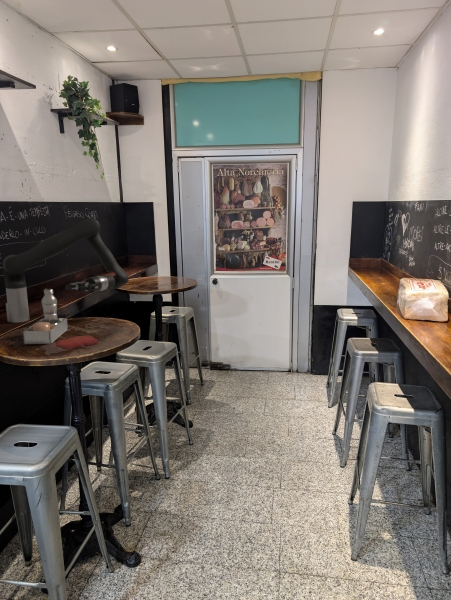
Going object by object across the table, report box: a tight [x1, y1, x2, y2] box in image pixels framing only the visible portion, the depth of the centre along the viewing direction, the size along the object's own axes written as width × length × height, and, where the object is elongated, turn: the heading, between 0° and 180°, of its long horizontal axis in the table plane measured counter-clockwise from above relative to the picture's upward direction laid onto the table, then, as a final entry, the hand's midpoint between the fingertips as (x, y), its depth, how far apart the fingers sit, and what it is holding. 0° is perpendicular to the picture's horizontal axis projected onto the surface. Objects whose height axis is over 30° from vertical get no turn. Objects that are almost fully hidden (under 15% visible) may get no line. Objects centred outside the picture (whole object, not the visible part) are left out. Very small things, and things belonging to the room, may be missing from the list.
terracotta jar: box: [32, 322, 50, 331], centre depth 181 cm, size 7×7×7 cm
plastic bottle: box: [41, 288, 59, 324], centre depth 189 cm, size 6×7×20 cm
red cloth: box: [54, 335, 99, 350], centre depth 178 cm, size 18×14×2 cm
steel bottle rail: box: [22, 317, 69, 345], centre depth 186 cm, size 11×22×6 cm, turn 2°
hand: (71, 288), depth 200 cm, fingers open, 8 cm apart
